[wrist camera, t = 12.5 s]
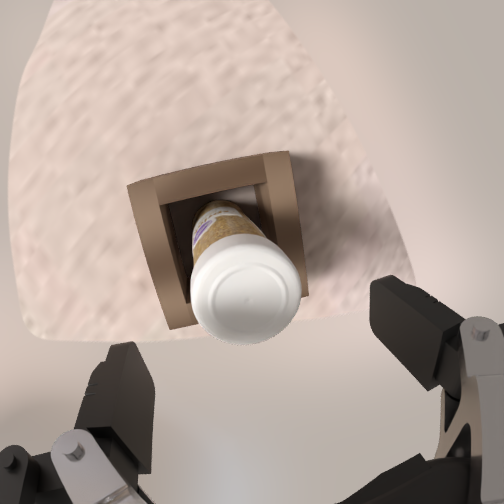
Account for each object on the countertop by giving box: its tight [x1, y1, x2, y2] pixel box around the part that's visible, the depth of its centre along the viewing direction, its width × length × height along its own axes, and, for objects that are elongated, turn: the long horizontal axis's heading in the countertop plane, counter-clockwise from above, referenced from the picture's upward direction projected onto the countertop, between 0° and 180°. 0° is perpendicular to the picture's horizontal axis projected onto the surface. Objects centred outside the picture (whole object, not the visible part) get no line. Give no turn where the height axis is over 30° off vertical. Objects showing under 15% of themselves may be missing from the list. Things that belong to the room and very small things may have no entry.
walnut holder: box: [127, 151, 309, 330], centre depth 22 cm, size 10×10×5 cm
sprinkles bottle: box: [190, 200, 302, 345], centre depth 18 cm, size 5×5×13 cm
